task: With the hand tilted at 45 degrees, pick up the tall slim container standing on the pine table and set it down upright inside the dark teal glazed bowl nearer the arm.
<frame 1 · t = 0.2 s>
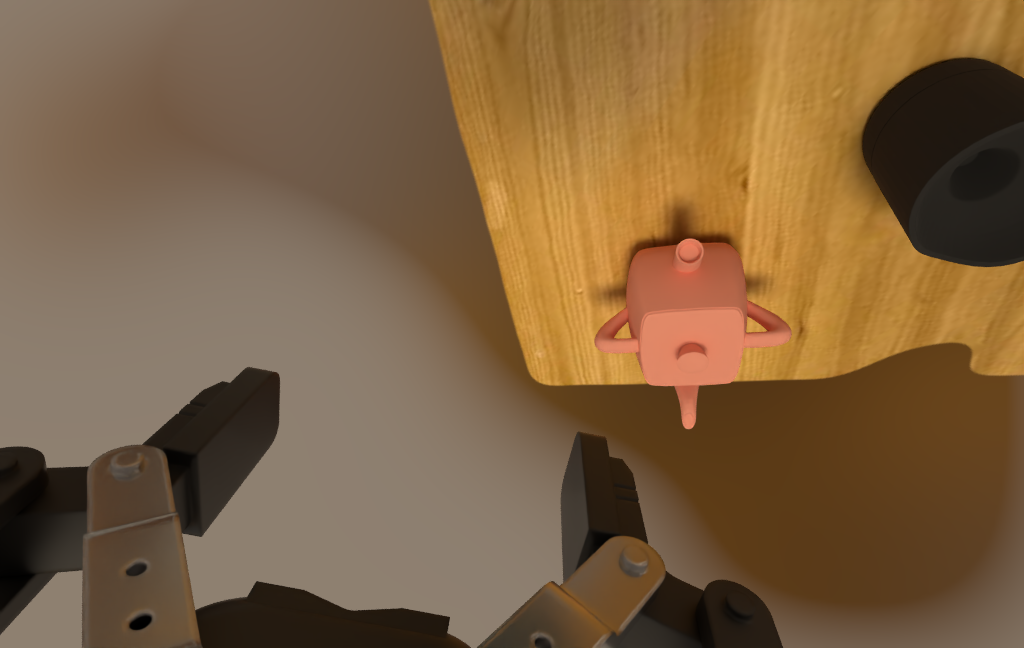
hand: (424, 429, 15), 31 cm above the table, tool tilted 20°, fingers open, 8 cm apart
pen holder: (931, 122, 37), on the table
teapot: (680, 279, 49), on the table
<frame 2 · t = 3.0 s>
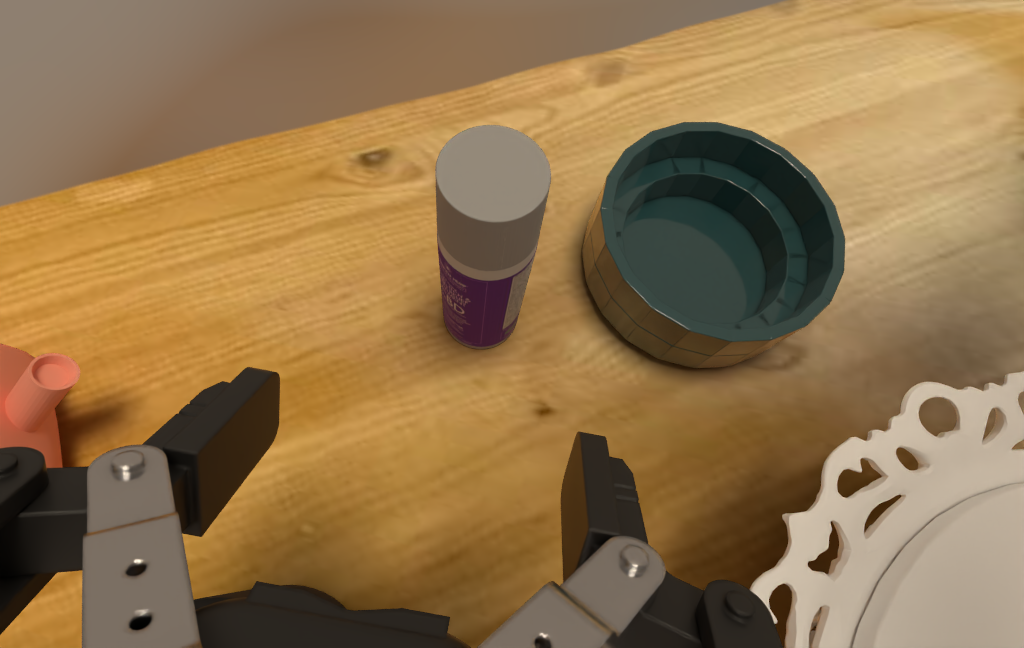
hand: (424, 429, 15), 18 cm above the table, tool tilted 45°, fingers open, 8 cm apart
container: (480, 315, 35), on the table
bowl: (685, 268, 38), on the table
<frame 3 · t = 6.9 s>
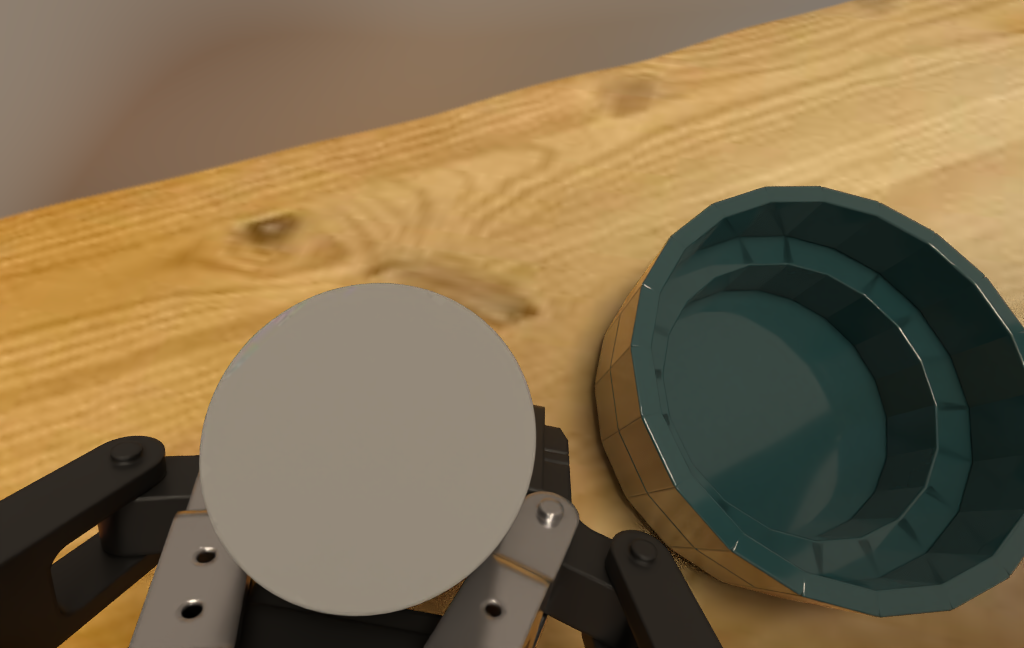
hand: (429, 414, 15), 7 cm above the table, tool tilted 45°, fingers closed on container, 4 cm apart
container: (428, 498, 22), on the table, touching gripper
bowl: (755, 408, 24), on the table
when the fingers open (8 cm above the table, at t = 16.2 s): container stays where it is, resting on bowl.
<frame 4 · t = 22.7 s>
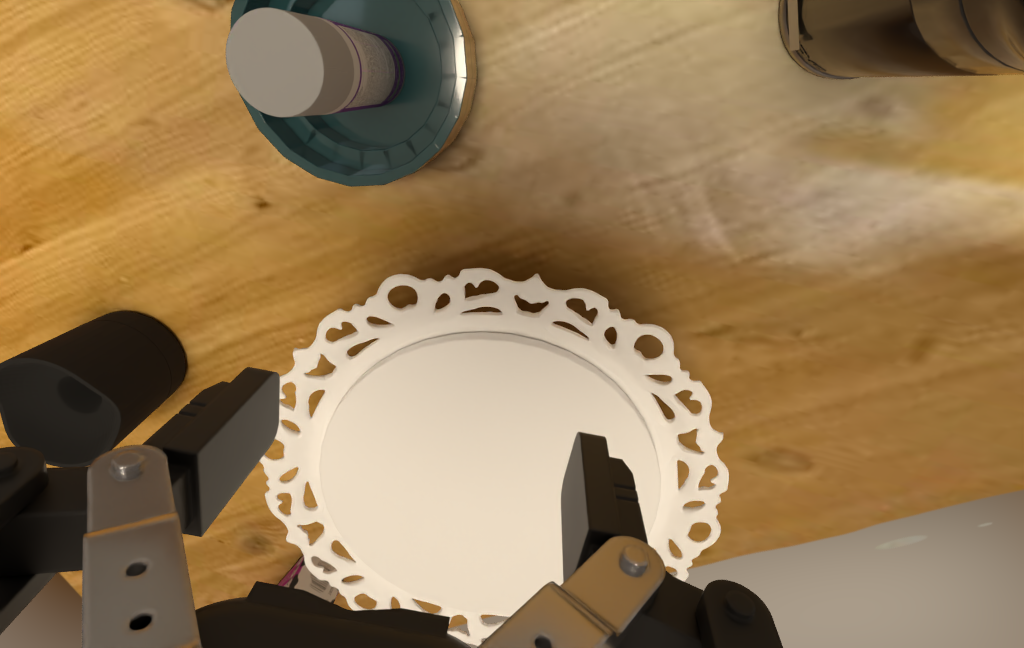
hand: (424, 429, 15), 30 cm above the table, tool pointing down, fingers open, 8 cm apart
container: (372, 70, 39), point 1 cm above the table, touching bowl
bowl 2: (502, 395, 49), on the table
pen holder: (142, 353, 50), on the table
bowl: (375, 67, 39), on the table
candy bar box: (305, 581, 60), on the table
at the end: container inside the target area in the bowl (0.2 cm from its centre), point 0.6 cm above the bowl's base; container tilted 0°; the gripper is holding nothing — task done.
